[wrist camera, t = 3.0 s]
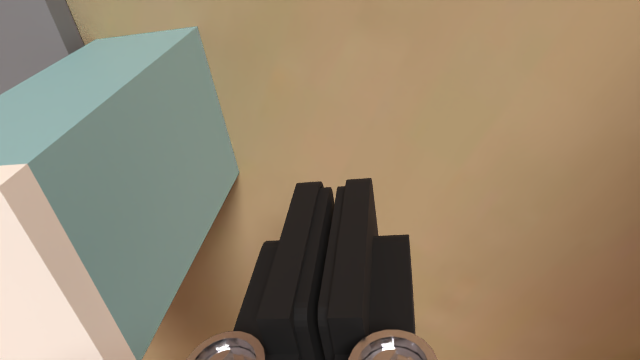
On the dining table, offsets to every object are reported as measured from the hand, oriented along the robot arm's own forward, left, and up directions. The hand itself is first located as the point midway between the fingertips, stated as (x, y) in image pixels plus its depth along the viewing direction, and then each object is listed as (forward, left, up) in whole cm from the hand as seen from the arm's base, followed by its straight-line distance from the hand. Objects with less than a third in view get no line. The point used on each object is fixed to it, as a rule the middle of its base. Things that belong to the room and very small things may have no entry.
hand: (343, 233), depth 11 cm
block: (+7, 0, -8) cm, 11 cm away
